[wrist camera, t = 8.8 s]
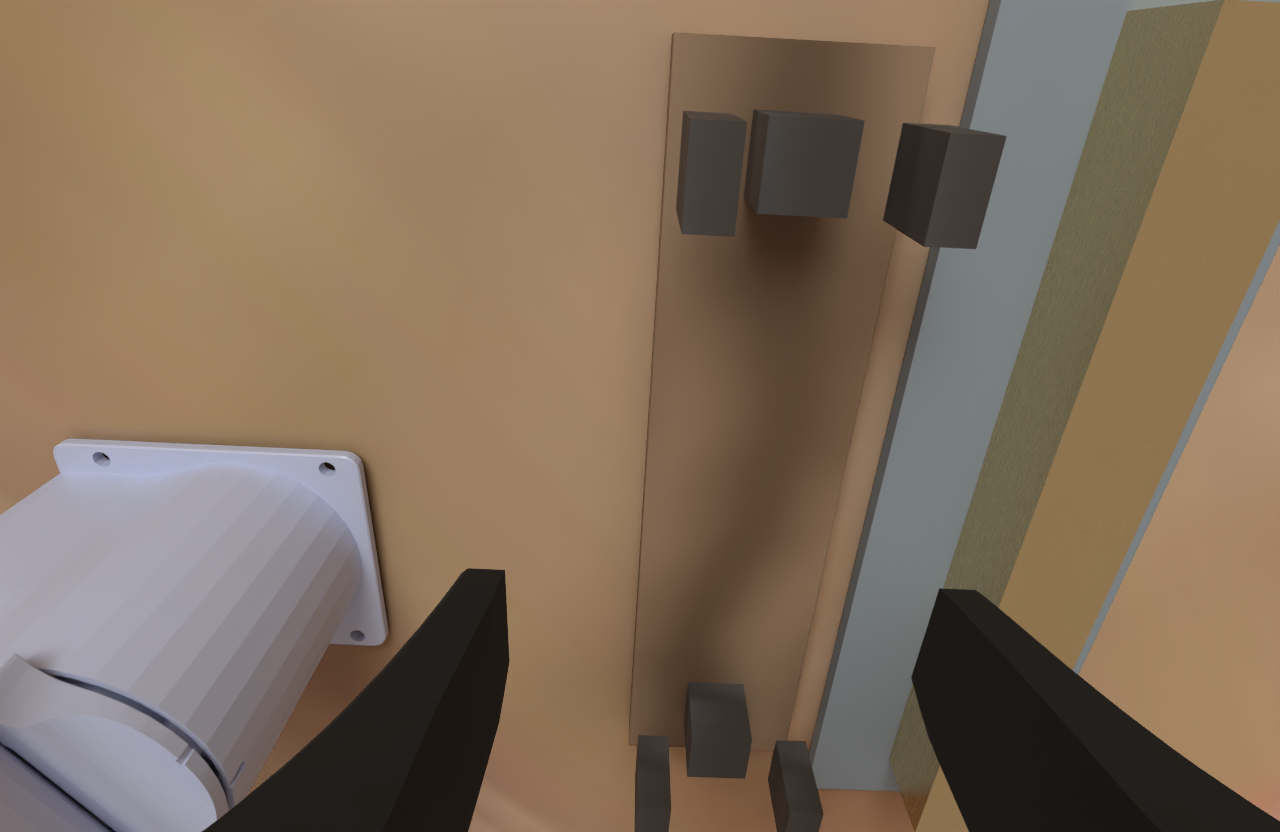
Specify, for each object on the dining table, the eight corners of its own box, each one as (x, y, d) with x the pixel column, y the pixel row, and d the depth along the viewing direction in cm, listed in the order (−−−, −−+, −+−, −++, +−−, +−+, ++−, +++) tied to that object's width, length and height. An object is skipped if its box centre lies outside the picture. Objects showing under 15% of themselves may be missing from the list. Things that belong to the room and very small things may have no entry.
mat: (803, 774, 29) (806, 788, 28) (1013, -98, 16) (1027, -105, 15) (1014, 782, 29) (1021, 795, 29) (1404, -75, 16) (1431, -80, 15)
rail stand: (629, 718, 28) (626, 875, 22) (672, 34, 17) (686, 19, 11) (778, 724, 28) (811, 882, 22) (916, 48, 17) (1045, 40, 11)
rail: (888, 758, 28) (914, 832, 25) (1127, 10, 16) (1224, -1, 13) (962, 761, 28) (996, 835, 25) (1253, 18, 16) (1377, 7, 13)
